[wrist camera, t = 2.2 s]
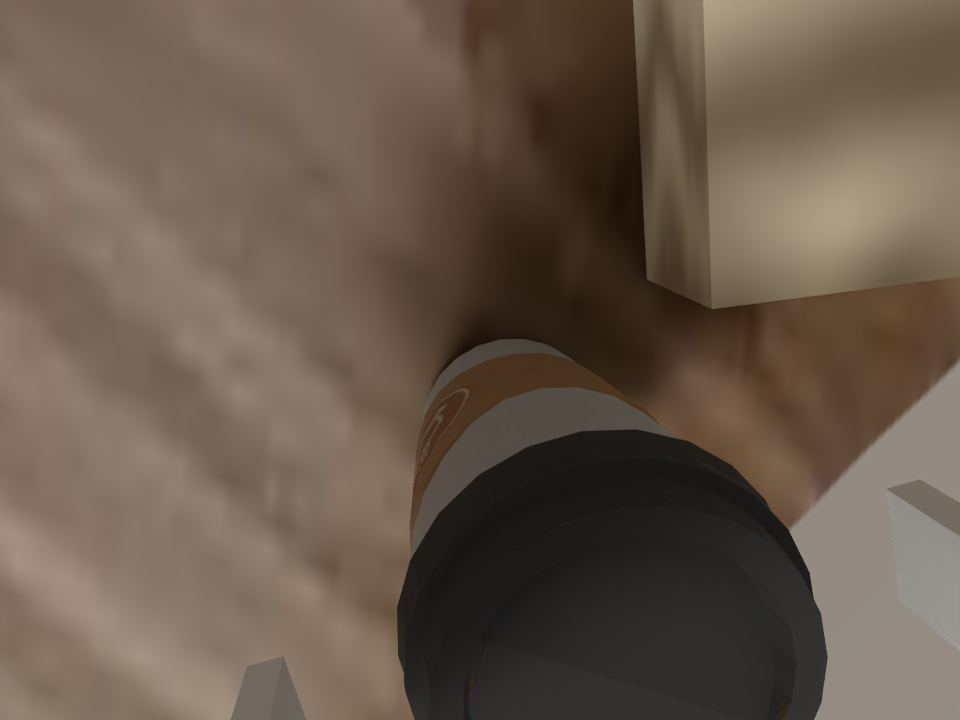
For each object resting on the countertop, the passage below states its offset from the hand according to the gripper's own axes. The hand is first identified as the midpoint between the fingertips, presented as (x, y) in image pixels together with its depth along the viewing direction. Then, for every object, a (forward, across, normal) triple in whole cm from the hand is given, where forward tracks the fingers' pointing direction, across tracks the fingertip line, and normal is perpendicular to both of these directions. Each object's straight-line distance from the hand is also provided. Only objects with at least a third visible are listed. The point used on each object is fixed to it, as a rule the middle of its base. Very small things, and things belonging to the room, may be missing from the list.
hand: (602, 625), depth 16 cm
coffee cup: (+13, 0, 0) cm, 13 cm away
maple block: (+13, +13, +9) cm, 20 cm away
